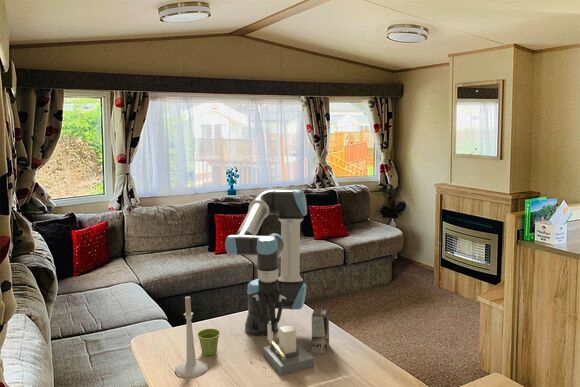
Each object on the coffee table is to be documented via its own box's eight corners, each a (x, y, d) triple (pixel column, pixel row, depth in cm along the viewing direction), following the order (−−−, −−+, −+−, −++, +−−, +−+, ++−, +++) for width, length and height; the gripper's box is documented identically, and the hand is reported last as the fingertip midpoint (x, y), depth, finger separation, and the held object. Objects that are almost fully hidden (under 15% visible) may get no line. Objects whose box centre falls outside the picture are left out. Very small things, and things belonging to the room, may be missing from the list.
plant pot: (224, 349, 207) (223, 329, 206) (214, 359, 198) (213, 339, 197) (205, 346, 210) (204, 327, 209) (194, 356, 201) (192, 336, 200)
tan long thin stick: (268, 343, 200) (268, 340, 199) (273, 342, 200) (273, 339, 200) (281, 360, 186) (281, 356, 186) (287, 359, 187) (287, 355, 186)
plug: (274, 358, 197) (273, 326, 195) (293, 353, 201) (292, 322, 199) (282, 367, 190) (281, 335, 188) (302, 363, 193) (301, 330, 191)
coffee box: (327, 354, 201) (326, 317, 198) (311, 353, 202) (311, 316, 200) (329, 344, 210) (329, 308, 207) (314, 343, 211) (314, 307, 208)
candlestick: (188, 358, 200) (184, 288, 195) (214, 364, 194) (211, 292, 190) (167, 373, 188) (163, 299, 184) (195, 380, 183) (191, 304, 178)
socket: (263, 356, 200) (263, 344, 200) (294, 348, 206) (294, 337, 205) (281, 376, 184) (280, 363, 183) (314, 368, 190) (313, 355, 189)
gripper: (248, 282, 177) (251, 342, 181) (283, 283, 174) (285, 344, 179) (253, 274, 184) (256, 333, 189) (287, 276, 182) (289, 335, 186)
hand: (270, 338), depth 184 cm, fingers closed
